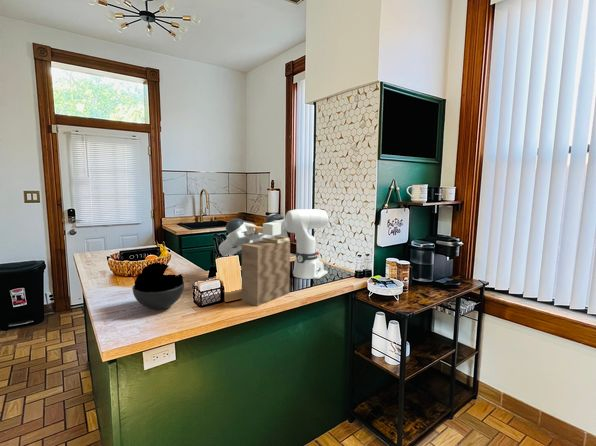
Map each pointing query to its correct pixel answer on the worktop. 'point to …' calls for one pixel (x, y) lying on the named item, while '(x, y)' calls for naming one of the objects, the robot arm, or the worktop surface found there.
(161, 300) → the dark grey bowl
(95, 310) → the worktop surface
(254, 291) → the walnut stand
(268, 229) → the mallet
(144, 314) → the worktop surface
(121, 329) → the worktop surface
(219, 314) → the worktop surface
